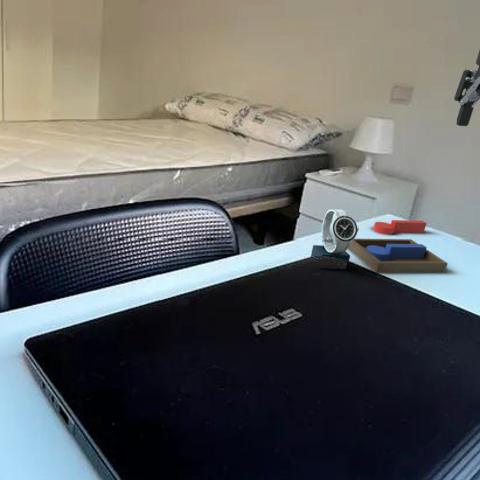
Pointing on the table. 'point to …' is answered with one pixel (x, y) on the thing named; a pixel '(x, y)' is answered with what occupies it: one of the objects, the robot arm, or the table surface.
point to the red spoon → (400, 227)
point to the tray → (396, 265)
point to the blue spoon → (397, 251)
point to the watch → (336, 235)
